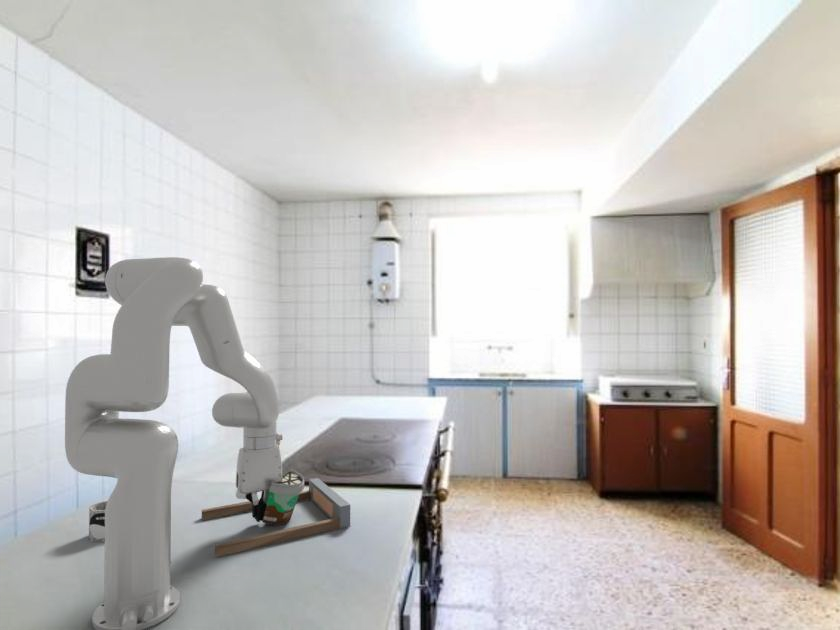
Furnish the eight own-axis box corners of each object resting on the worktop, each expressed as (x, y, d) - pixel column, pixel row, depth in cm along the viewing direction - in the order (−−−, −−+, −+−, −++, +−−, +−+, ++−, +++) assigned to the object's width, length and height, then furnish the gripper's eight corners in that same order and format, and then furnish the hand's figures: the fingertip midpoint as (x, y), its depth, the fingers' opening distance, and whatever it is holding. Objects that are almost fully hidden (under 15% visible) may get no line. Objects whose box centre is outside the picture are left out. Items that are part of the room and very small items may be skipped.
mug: (83, 543, 106) (84, 512, 106) (95, 530, 112) (95, 501, 112) (135, 537, 108) (135, 507, 108) (143, 525, 115) (144, 497, 115)
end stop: (350, 525, 114) (350, 504, 114) (339, 528, 113) (339, 506, 113) (317, 495, 134) (317, 477, 134) (307, 497, 133) (307, 479, 133)
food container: (284, 532, 111) (296, 490, 111) (259, 524, 112) (271, 482, 112) (302, 512, 123) (312, 474, 124) (279, 505, 124) (289, 467, 124)
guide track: (340, 528, 113) (340, 519, 113) (216, 556, 99) (216, 547, 99) (308, 497, 133) (308, 490, 133) (201, 518, 119) (201, 509, 119)
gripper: (286, 435, 122) (286, 508, 122) (223, 442, 115) (223, 520, 114) (295, 441, 116) (295, 518, 116) (229, 449, 108) (229, 532, 108)
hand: (259, 519), depth 115 cm, fingers closed
